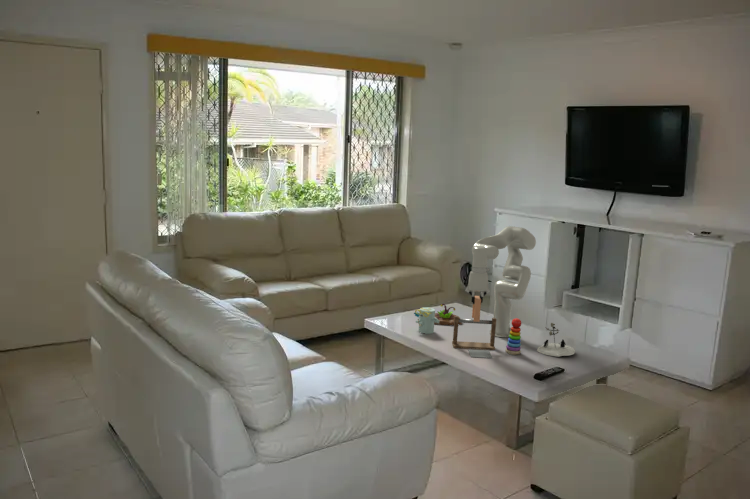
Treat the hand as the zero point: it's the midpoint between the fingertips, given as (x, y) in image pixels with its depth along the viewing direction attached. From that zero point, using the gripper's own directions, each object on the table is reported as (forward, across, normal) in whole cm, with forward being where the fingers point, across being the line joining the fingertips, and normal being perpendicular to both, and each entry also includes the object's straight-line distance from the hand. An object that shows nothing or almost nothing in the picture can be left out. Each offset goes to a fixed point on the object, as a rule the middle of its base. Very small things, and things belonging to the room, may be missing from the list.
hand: (476, 303), depth 338 cm
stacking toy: (+24, -20, +8) cm, 32 cm away
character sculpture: (+24, +25, -22) cm, 41 cm away
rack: (+24, 0, 0) cm, 24 cm away
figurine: (+25, -44, +2) cm, 50 cm away
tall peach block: (+9, 0, 0) cm, 9 cm away
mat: (+24, -2, +12) cm, 27 cm away
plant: (+25, +12, -47) cm, 54 cm away
